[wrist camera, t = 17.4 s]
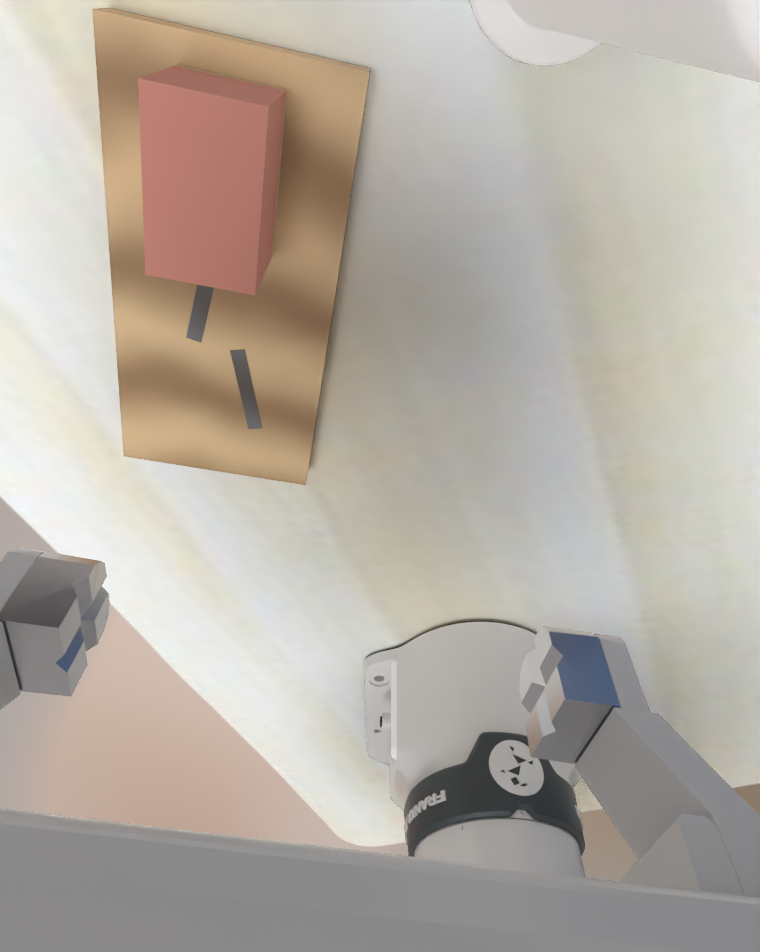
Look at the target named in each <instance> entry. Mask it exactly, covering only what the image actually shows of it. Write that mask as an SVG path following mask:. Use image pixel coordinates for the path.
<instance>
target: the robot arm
mask: <svg viewBox="0 0 760 952" xmlns="http://www.w3.org/2000/svg"><path fill="white" fill-rule="evenodd" d="M106 576H107V575H106V569H105V563H103V562H101V561H97V560H91V559H85V558H79V557H74V556H68V555H62V554H56V553H50V552H42V551H36V550H30V549H25V548H19V547H16V548H14V549H13V550H11V551H10V552H8V553H7V554H6V556H5V557H4V558H3V559H2V561H1V562H0V710H1V709H2V708H3V707H5V706H6V705H7V704H8V703H10V702H11V701H12V700H14V699H15V698H16V697H17V696H19V695H20V694H21V692H20V691H26V692H34V693H45V694H53V695H63V696H72V694H73V692H74V690H75V688H76V686H77V684H78V682H79V680H80V678H81V676H82V674H83V672H84V670H85V668H86V666H87V659H86V651H87V650H89V649H91V648H92V647H94V646H95V645H97V644H98V642H99V640H100V638H101V636H102V634H103V631H104V628H105V625H106V621H107V618H108V613H109V593H108V592H107V591H106V590H105V589H104V588H103V587H102V584H103V582H104V580H105V578H106ZM364 670H365V704H366V738H367V752H368V755H369V756H370V757H371V758H373V759H375V760H377V761H379V762H381V763H384V764H387V765H390V798H391V800H392V801H393V802H394V803H395V804H396V805H397V806H398V807H400V808H401V809H402V810H403V811H404V818H405V825H404V830H405V839H406V843H407V845H408V852H409V854H408V856H402V855H393V854H385V853H377V852H368V851H360V850H351V849H343V848H334V847H325V846H317V845H309V844H300V843H292V842H283V841H273V840H265V839H257V838H249V837H240V836H231V835H223V834H214V833H206V832H198V831H189V830H180V829H172V828H163V827H154V826H146V825H138V824H129V823H120V822H111V821H104V820H95V819H87V818H78V817H70V816H61V815H52V814H44V813H35V812H27V811H19V810H10V809H2V808H0V952H760V816H759V815H758V814H757V813H756V812H755V811H754V810H753V809H752V808H751V807H750V806H749V805H748V804H747V803H746V802H745V801H744V800H743V799H742V798H741V797H740V796H739V795H738V794H737V793H736V792H735V791H734V790H733V789H732V788H731V787H730V786H729V785H728V784H727V783H726V782H725V781H724V780H723V779H722V778H721V777H720V776H719V775H718V774H717V773H716V772H715V771H714V770H713V769H712V768H711V767H710V766H709V765H708V764H707V763H706V762H705V761H704V760H703V759H702V758H701V756H700V755H699V754H698V753H697V752H696V751H695V750H694V749H693V748H692V747H691V746H690V745H689V744H688V743H687V742H686V741H685V740H684V739H683V738H682V737H681V736H680V735H679V734H678V733H677V732H676V731H675V730H674V729H673V728H672V727H671V726H670V725H669V724H668V723H667V722H666V721H665V720H664V719H663V718H662V717H661V716H660V715H659V714H657V713H652V712H650V710H649V708H648V705H647V702H646V700H645V697H644V694H643V691H642V689H641V686H640V683H639V680H638V678H637V675H636V672H635V669H634V667H633V664H632V661H631V659H630V656H629V653H628V650H627V648H626V645H625V642H624V641H623V640H622V639H621V638H620V637H615V636H608V635H601V634H592V633H588V632H581V631H573V630H566V629H559V628H551V627H544V626H543V627H542V628H541V629H539V630H538V632H537V634H534V633H532V632H530V631H528V630H525V629H523V628H520V627H516V626H513V625H508V624H502V623H495V622H466V623H458V624H453V625H448V626H444V627H440V628H437V629H434V630H431V631H429V632H427V633H424V634H422V635H420V636H418V637H416V638H415V639H413V640H411V641H410V642H408V643H407V644H405V645H403V646H401V647H398V648H395V649H391V650H386V651H382V652H379V653H375V654H373V655H370V656H369V657H367V658H366V659H365V662H364ZM581 778H583V780H584V781H585V782H586V784H587V785H588V787H589V788H590V790H591V791H592V793H593V794H594V796H595V797H596V798H597V800H598V801H599V803H600V804H601V806H602V807H603V809H604V810H605V811H606V813H607V814H608V816H609V817H610V818H611V820H612V822H613V823H614V824H615V826H616V827H617V829H618V830H619V832H620V833H621V835H622V836H623V838H624V839H625V840H626V842H627V843H628V845H629V846H630V848H631V849H632V850H633V852H634V853H635V855H636V856H637V858H638V859H639V861H638V862H637V863H636V864H635V865H634V866H633V867H632V868H631V869H630V870H629V871H628V872H627V873H626V875H625V876H624V877H623V878H622V879H621V880H620V881H614V880H605V879H597V878H588V877H586V876H585V872H584V867H583V863H582V858H581V856H582V854H583V852H584V849H585V842H584V837H583V831H582V830H583V823H582V818H581V814H580V810H578V807H577V802H576V798H575V793H574V791H573V789H572V788H573V787H574V786H575V785H576V784H577V782H578V781H579V779H581Z"/></svg>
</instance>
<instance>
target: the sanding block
mask: <svg viewBox="0 0 760 952" xmlns="http://www.w3.org/2000/svg"><path fill="white" fill-rule="evenodd" d="M138 90H139V117H140V144H141V171H142V198H143V225H144V252H145V275H149V276H154V277H160V278H165V279H170V280H176V281H181V282H186V283H192V284H197V285H202V286H208V287H213V288H218V289H224V290H229V291H234V292H240V293H245V294H250V295H255V294H256V292H257V290H258V288H259V285H260V283H261V281H262V279H263V276H264V274H265V272H266V270H267V267H268V265H269V263H270V261H271V259H272V256H273V248H274V237H275V225H276V214H277V202H278V191H279V179H280V168H281V157H282V145H283V134H284V122H285V111H286V99H287V89H285V88H280V87H276V86H271V85H267V84H262V83H258V82H253V81H249V80H244V79H240V78H235V77H231V76H227V75H222V74H218V73H213V72H209V71H204V70H200V69H195V68H191V67H186V66H182V65H174V66H171V67H169V68H166V69H163V70H160V71H157V72H154V73H151V74H148V75H145V76H142V77H140V78H138Z"/></svg>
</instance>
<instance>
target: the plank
mask: <svg viewBox="0 0 760 952" xmlns="http://www.w3.org/2000/svg"><path fill="white" fill-rule="evenodd" d="M93 23H94V38H95V52H96V66H97V81H98V95H99V109H100V123H101V138H102V152H103V166H104V180H105V195H106V209H107V223H108V238H109V252H110V266H111V280H112V295H113V309H114V323H115V338H116V352H117V366H118V380H119V395H120V409H121V423H122V438H123V452H124V456H126V457H132V458H139V459H145V460H151V461H157V462H164V463H170V464H176V465H183V466H189V467H195V468H202V469H208V470H214V471H221V472H227V473H233V474H239V475H246V476H252V477H258V478H265V479H271V480H277V481H284V482H290V483H296V484H303V485H306V480H307V474H308V468H309V462H310V456H311V449H312V443H313V436H314V430H315V423H316V417H317V410H318V404H319V397H320V391H321V385H322V378H323V372H324V365H325V359H326V352H327V346H328V339H329V333H330V326H331V320H332V313H333V307H334V301H335V294H336V288H337V281H338V275H339V268H340V262H341V255H342V249H343V242H344V236H345V230H346V223H347V217H348V210H349V204H350V197H351V191H352V184H353V178H354V171H355V165H356V159H357V152H358V146H359V139H360V133H361V126H362V120H363V113H364V107H365V100H366V94H367V88H368V81H369V75H370V68H367V67H363V66H359V65H354V64H350V63H346V62H341V61H337V60H332V59H328V58H324V57H319V56H315V55H311V54H306V53H302V52H298V51H293V50H289V49H285V48H280V47H276V46H272V45H267V44H263V43H259V42H254V41H250V40H246V39H241V38H237V37H233V36H228V35H224V34H220V33H215V32H211V31H207V30H202V29H198V28H194V27H189V26H185V25H181V24H176V23H172V22H168V21H163V20H159V19H155V18H150V17H146V16H142V15H137V14H133V13H129V12H124V11H120V10H116V9H111V8H100V9H93ZM174 65H182V66H186V67H191V68H195V69H200V70H204V71H209V72H213V73H218V74H222V75H227V76H231V77H235V78H240V79H244V80H249V81H253V82H258V83H262V84H267V85H271V86H276V87H280V88H285V89H287V99H286V111H285V122H284V134H283V145H282V157H281V168H280V179H279V191H278V202H277V214H276V225H275V237H274V248H273V256H272V259H271V261H270V263H269V265H268V267H267V270H266V272H265V274H264V276H263V279H262V281H261V283H260V285H259V288H258V290H257V292H256V294H255V295H250V294H245V293H240V292H234V291H229V290H224V289H218V288H213V287H208V286H202V285H197V284H192V283H186V282H181V281H176V280H170V279H165V278H160V277H154V276H149V275H145V252H144V225H143V198H142V171H141V144H140V117H139V90H138V78H140V77H142V76H145V75H148V74H151V73H154V72H157V71H160V70H163V69H166V68H169V67H171V66H174Z"/></svg>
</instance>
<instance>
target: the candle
mask: <svg viewBox="0 0 760 952" xmlns="http://www.w3.org/2000/svg"><path fill="white" fill-rule="evenodd" d="M470 3H471V6H472V9H473V12H474V15H475V17H476V19H477V21H478V23H479V25H480V27H481V29H482V30H483V32H484V33H485V35H486V36H487V37H488V39H489V40H490V41H491V42H492V43H493V44H494V45H495V46H496V47H497V48H498V49H499V50H501V51H502V52H503V53H505V54H506V55H508V56H509V57H511V58H513V59H515V60H517V61H520V62H523V63H526V64H531V65H537V66H551V65H558V64H562V63H566V62H569V61H572V60H574V59H577V58H579V57H581V56H583V55H585V54H586V53H588V52H590V51H591V50H593V49H594V48H595V47H597V46H598V45H599V44H601V43H603V44H607V45H611V46H615V47H619V48H623V49H627V50H631V51H635V52H639V53H643V54H647V55H651V56H655V57H659V58H663V59H667V60H671V61H675V62H679V63H683V64H687V65H691V66H695V67H699V68H703V69H707V70H711V71H715V72H719V73H723V74H727V75H731V76H735V77H739V78H743V79H748V80H752V81H756V82H760V0H470Z"/></svg>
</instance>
